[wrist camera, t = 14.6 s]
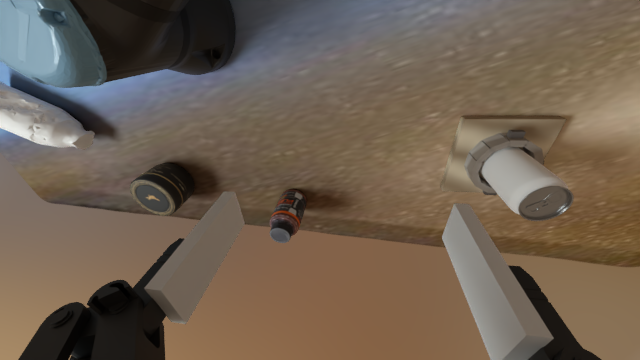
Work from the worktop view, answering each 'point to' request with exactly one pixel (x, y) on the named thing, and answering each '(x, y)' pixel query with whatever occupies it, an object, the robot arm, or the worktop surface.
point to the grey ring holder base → (495, 146)
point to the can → (526, 184)
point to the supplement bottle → (287, 215)
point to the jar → (162, 189)
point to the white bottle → (40, 120)
